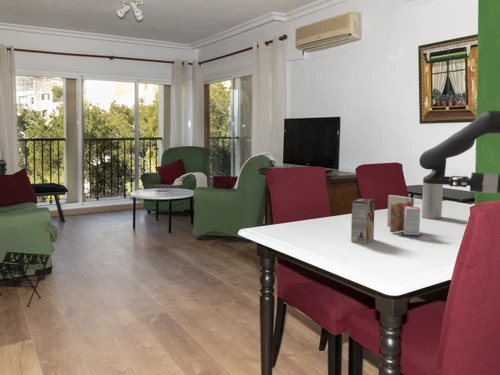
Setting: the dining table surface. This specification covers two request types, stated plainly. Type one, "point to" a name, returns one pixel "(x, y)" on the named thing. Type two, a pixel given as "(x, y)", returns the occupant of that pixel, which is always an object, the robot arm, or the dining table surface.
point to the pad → (410, 236)
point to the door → (397, 216)
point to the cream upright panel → (397, 199)
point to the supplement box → (411, 221)
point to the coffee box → (362, 220)
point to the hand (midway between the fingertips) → (439, 180)
